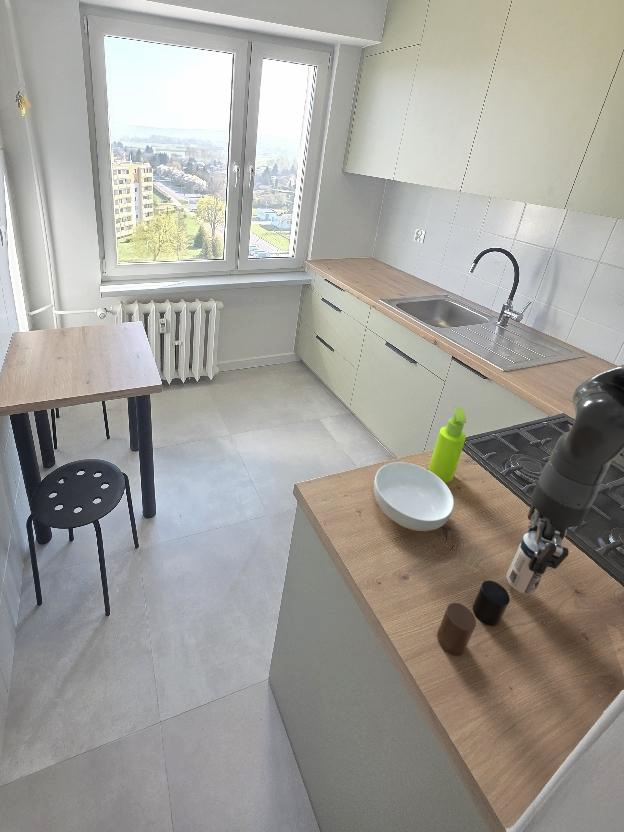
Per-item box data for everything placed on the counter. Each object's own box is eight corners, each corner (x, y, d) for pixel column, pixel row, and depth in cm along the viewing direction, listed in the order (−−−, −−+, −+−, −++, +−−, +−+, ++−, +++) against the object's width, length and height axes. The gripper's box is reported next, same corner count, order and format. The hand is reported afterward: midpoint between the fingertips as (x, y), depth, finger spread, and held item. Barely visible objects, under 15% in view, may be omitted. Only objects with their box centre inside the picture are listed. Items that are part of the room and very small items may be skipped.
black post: (498, 607, 77) (508, 586, 75) (501, 631, 74) (511, 609, 71) (472, 597, 79) (480, 576, 76) (473, 619, 75) (482, 598, 73)
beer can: (533, 601, 77) (555, 557, 72) (504, 585, 80) (523, 542, 75) (535, 581, 81) (556, 538, 76) (507, 567, 83) (526, 524, 78)
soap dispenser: (429, 481, 105) (448, 417, 97) (427, 463, 112) (445, 401, 103) (454, 488, 104) (476, 423, 96) (451, 469, 110) (471, 406, 102)
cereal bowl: (356, 491, 101) (360, 469, 99) (411, 477, 107) (417, 455, 104) (402, 552, 87) (409, 528, 84) (463, 532, 92) (472, 508, 89)
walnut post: (464, 634, 73) (475, 609, 70) (465, 661, 69) (476, 635, 66) (437, 623, 74) (446, 598, 72) (436, 648, 71) (446, 622, 68)
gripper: (606, 531, 63) (565, 602, 70) (580, 469, 75) (548, 535, 82) (547, 512, 66) (514, 583, 73) (531, 455, 78) (504, 521, 85)
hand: (532, 557), depth 77 cm, fingers closed on beer can, 4 cm apart
